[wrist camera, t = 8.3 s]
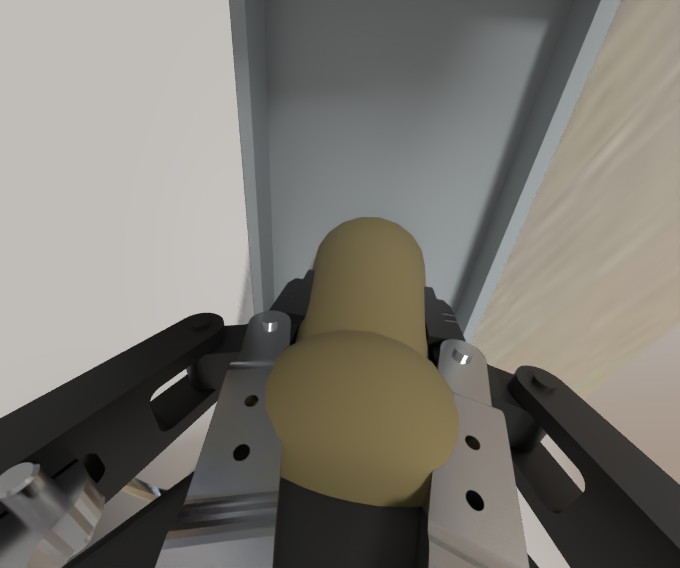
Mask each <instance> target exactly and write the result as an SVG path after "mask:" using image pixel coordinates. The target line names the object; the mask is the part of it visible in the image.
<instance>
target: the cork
mask: <svg viewBox="0 0 680 568" xmlns="http://www.w3.org/2000/svg"><path fill="white" fill-rule="evenodd" d="M312 270H315V273H314V279H313V284H312V290H311V296H310V301H309V306H308V309H307V312H306V315H305V318H304V320H303V321H302V322H301V324H300V327H299V330H298V334H297V338H296V341H295V344H293V345H291V346H289V347H287V348H285V350H284V351H283V352H282V353H281V354H280V355H279V356H278V357H277V358H276V359H275V360H274V367H273V369H272V371H271V373H270V375H269V377H268V379H267V381H266V394H265V409H266V411H267V413H268V416H269V418H270V420H271V422H272V425H273V427H274V429H275V432H276V434H277V436H278V438H279V439H281V440H282V474H281V477H282V478H284V479H287V480H289V481H291V482H293V483H295V484H297V485H300V486H302V487H304V488H307V489H309V490H312V491H315V492H318V493H321V494H324V495H327V496H330V497H334V498H339V499H343V500H347V501H351V502H356V503H363V504H369V505H375V506H389V507H422V506H423V501H424V498H425V496H426V493H427V489H428V486H429V482H430V479H431V475H432V471H433V470H436V469H438V468H439V467H441V466H442V465H443V464H444V463H445V462H446V461H447V459H448V458H449V456H450V455H451V453H452V451H453V450H454V448H455V447H456V445H457V439H458V425H459V415H458V411H457V408H456V405H455V402H454V399H453V393H452V392H453V391H452V390H451V388H450V386H449V385H448V383H447V382H446V381H445V379H444V378H443V376H442V375H441V374H440V372H439V371H438V370H437V368H436V367H435V365H434V364H433V363H432V362H431V361H430V360H429V350H428V346H427V339H426V327H425V304H424V286H426V277H425V264H424V259H423V254H422V250H421V248H420V247H419V245H418V243H417V242H416V240H415V238H414V237H413V235H411V234H410V233H409V232H408V231H406V230H405V229H404V228H403V227H401V226H400V225H399V224H397V223H394V222H391V221H389V220H386V219H383V218H380V217H359V218H356V219H353V220H349V221H346V222H343V223H341V224H340V225H339V226H337V227H336V228H334V229H333V230H331V231H330V232H329V233H328V234H327V235H326V237H325V238H324V240H323V241H322V242H321V244H320V245H319V247H318V251H317V254H316V257H315V261H314V265H313V269H312ZM257 403H258V401H256V402H255V403H254V405H253V406H255V405H256V404H257ZM253 406H252V407H253Z"/></svg>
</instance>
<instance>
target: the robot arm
mask: <svg viewBox="0 0 680 568" xmlns="http://www.w3.org/2000/svg"><path fill="white" fill-rule="evenodd" d="M314 273H315V270H311V269H309V270H308V271H307V273H306V275H305V276H304V278H303V279H300V278H295V279H293V280H291V281H290V282H288V283H287V284H286V286H285V287H284V290H282V292H281V293H280V295H279V296H278V298H277V299H276V301H275V302H274V304H273V305H272V306H271V308H270V309H269V311H264V312H260V313H258V314H256V315H254V316H253V317H252V318H251V319H250V321H249V324H245V325H231V326H224V321H223V318H222V317H221V316H219V315H217V314H214V313H200V314H195V315H192V316H189V317H187V318H185V319H183V320H181V321H180V322H178V323H176V324H174V325H172V326H170V327H168V328H167V329H165V330H163V331H161V332H159V333H157V334H155V335H154V336H152V337H150V338H148V339H146V340H144V341H143V342H141V343H139V344H137V345H135V346H133V347H131V348H130V349H128V350H126V351H124V352H122V353H120V354H119V355H117V356H115V357H113V358H111V359H109V360H107V361H106V362H104V363H102V364H100V365H98V366H97V367H94V368H93V369H91V370H89V371H87V372H85V373H83V374H82V375H80V376H78V377H76V378H74V379H72V380H70V381H69V382H67V383H65V384H63V385H61V386H59V387H58V388H56V389H54V390H52V391H51V392H48V393H46V394H45V395H43V396H41V397H39V398H37V399H35V400H33V401H32V402H30V403H28V404H26V405H24V406H23V407H21V408H19V409H17V410H15V411H13V412H11V413H9V414H8V415H6V416H4V417H2V418H0V568H539V567H538V566H537V565H536V563H535V562H534V561H533V560H532V559H531V557H530V556H529V555H528V553H527V550H526V543H525V537H524V531H523V525H522V519H521V513H520V507H519V501H518V495H517V489H516V486H517V488H518V489H519V491H520V492H521V494H522V495H523V497H524V498H525V500H526V501H527V503H528V504H529V506H530V507H531V509H532V510H533V512H534V513H535V515H536V516H537V518H538V519H539V521H540V522H541V524H542V525H543V527H544V528H545V530H546V531H547V533H548V534H549V536H550V537H551V539H552V540H553V542H554V543H555V545H556V546H557V548H558V550H559V551H560V552H561V554H562V556H563V557H564V558H565V560H566V561H567V563H568V565H569V566H570V568H680V485H679V484H678V483H677V482H676V481H675V480H673V479H672V478H671V477H670V476H669V475H668V474H667V473H665V472H664V471H663V470H662V469H661V468H660V467H659V466H658V465H656V464H655V463H654V462H653V461H652V460H651V459H650V458H649V457H647V456H646V455H645V454H644V453H643V452H642V451H641V450H639V449H638V448H637V447H636V446H635V445H634V444H633V443H631V442H630V441H629V440H628V439H627V438H626V437H625V436H623V435H622V434H621V433H620V432H619V431H618V430H617V429H615V428H614V427H613V426H612V425H611V424H610V423H609V422H608V421H606V420H605V419H604V418H603V417H602V416H601V415H600V414H599V413H597V412H596V411H595V410H594V409H593V408H592V407H591V406H589V405H588V404H587V403H586V402H585V401H584V400H583V399H582V398H580V397H579V396H578V395H577V394H576V393H575V392H574V391H572V390H571V389H570V388H569V387H568V386H567V385H566V384H564V383H563V382H562V381H561V380H560V379H558V378H557V377H556V376H554V375H552V374H551V373H549V372H547V371H545V370H543V369H540V368H537V367H533V366H521V367H519V368H518V369H517V370H516V372H515V374H511V373H508V372H506V371H503V370H500V369H498V368H495V367H493V366H490V365H488V364H487V362H486V358H485V356H484V355H483V353H482V352H481V351H480V350H479V349H477V348H476V347H475V346H473V345H471V344H469V343H467V342H466V340H465V338H464V336H463V333H462V331H461V329H460V327H459V324H458V323H457V320H456V318H455V316H454V313H453V311H452V309H451V307H450V306H449V305H448V304H447V303H446V302H445V301H444V300H440V299H437V298H436V295H435V293H434V290H433V288H432V287H427V286H424V304H425V327H426V339H427V346H428V350H429V360H430V361H431V362H432V363H433V364H434V365H435V367H436V368H437V370H438V371H439V372H440V374H441V375H442V376H443V378H444V379H445V381H446V382H447V383H448V385H449V386H450V388H451V390H452V391H453V392H452V393H453V399H454V402H455V405H456V408H457V411H458V415H459V425H458V439H457V445H456V447H455V448H454V450H453V451H452V453H451V455H450V456H449V458H448V459H447V461H446V462H445V463H444V464H443V465H442V466H441V467H439V468H438V469H436V470H433V471H432V475H431V479H430V482H429V486H428V489H427V493H426V496H425V498H424V501H423V506H422V507H389V506H375V505H369V504H363V503H356V502H351V501H347V500H343V499H339V498H334V497H330V496H327V495H324V494H321V493H318V492H315V491H312V490H309V489H307V488H304V487H302V486H300V485H297V484H295V483H293V482H291V481H289V480H287V479H284V478H282V477H281V474H282V440H281V439H279V438H278V436H277V434H276V432H275V429H274V427H273V425H272V422H271V420H270V418H269V416H268V413H267V411H266V409H265V394H266V381H267V379H268V377H269V375H270V373H271V371H272V369H273V367H274V360H275V359H276V358H277V357H278V356H279V355H280V354H281V353H282V352H283V351H284V350H285V348H287V347H289V346H291V345H293V344H295V341H296V338H297V334H298V330H299V327H300V324H301V322H302V321H303V320H304V318H305V315H306V312H307V309H308V306H309V301H310V296H311V290H312V284H313V279H314ZM184 369H186V370H187V373H188V374H187V375H186V376H185V377H183V378H182V379H180V380H179V381H178V382H176V383H175V384H174V385H172V386H171V387H170V388H168V389H167V390H165V391H164V392H163V393H161V394H160V395H159V396H157V397H156V398H155V399H153V400H152V401H151V402H150V399H151V397H152V395H153V393H154V392H155V391H156V390H157V389H158V388H159V387H161V386H162V385H163V384H165V383H166V382H168V381H169V380H170V379H172V378H173V377H175V376H176V375H177V374H179V373H180V372H182V371H183V370H184ZM256 401H258V403H257V404H256V405H255V406H253V405H254V403H255V402H256ZM216 402H217V404H216V407H215V410H214V413H213V416H212V420H211V423H210V425H209V429H208V432H207V435H206V438H205V441H204V444H203V447H202V450H201V453H200V456H199V459H198V463H197V466H196V469H195V471H194V472H192V473H191V474H190V475H188V476H187V477H185V478H184V479H183V480H181V481H180V482H179V483H177V484H176V485H174V486H173V487H172V488H170V489H169V490H168V491H166V492H165V493H163V494H162V495H161V496H159V497H158V498H156V499H155V500H154V501H152V502H151V503H150V504H148V505H147V506H146V507H144V508H143V509H141V510H140V511H139V512H137V513H136V514H135V515H133V516H132V517H130V518H129V519H128V520H126V521H125V522H123V523H122V524H121V525H119V526H118V527H117V528H115V529H114V530H112V531H111V532H110V533H108V534H107V535H105V536H104V537H103V538H101V539H100V540H99V541H97V542H96V543H95V544H93V545H92V546H90V547H89V548H88V549H86V550H85V551H84V552H82V553H81V554H79V555H78V556H77V557H75V558H74V559H72V560H71V561H70V562H68V563H67V564H66V562H67V561H68V559H69V558H70V557H71V556H73V555H75V554H77V553H78V552H80V551H81V550H82V549H83V548H84V547H85V546H86V545H87V544H88V542H89V541H90V539H91V537H92V536H93V533H94V527H95V526H96V524H97V523H98V521H99V519H100V517H101V515H102V512H103V509H104V505H105V504H106V503H107V502H108V501H109V500H110V499H111V498H112V497H113V496H114V495H115V494H117V493H118V492H119V491H120V490H121V489H122V488H123V487H124V486H125V485H126V484H127V483H129V482H130V481H131V480H132V479H133V478H134V477H135V476H136V475H137V474H138V473H139V472H140V471H142V470H143V468H145V467H146V466H147V465H148V464H149V463H150V462H151V461H152V460H154V458H156V457H157V456H158V455H159V454H160V453H161V452H162V451H163V450H164V449H166V448H167V447H168V446H169V445H170V444H171V443H172V442H173V441H174V440H175V439H176V438H177V437H179V436H180V435H181V434H182V433H183V432H184V431H185V430H186V429H187V428H188V427H189V426H191V425H192V424H193V423H194V422H195V421H196V420H197V419H198V418H199V417H200V416H201V415H203V414H204V413H205V412H206V411H207V410H208V409H209V408H210V407H211V406H212V405H213V404H214V403H216ZM252 406H253V407H252ZM546 434H548V435H549V436H550V438H551V439H552V440H553V441H554V442H555V443H556V444H557V445H558V447H559V448H560V449H561V450H562V451H563V452H564V453H565V454H566V455H567V457H568V458H569V459H570V460H571V461H572V462H573V464H574V465H575V466H576V467H577V468H578V469H579V471H580V472H581V474H582V476H583V478H584V481H585V491H584V492H582V491H581V490H580V489H579V488H578V486H577V485H576V484H575V483H574V482H573V481H572V479H571V478H570V477H569V476H568V474H567V473H566V472H565V471H564V470H563V468H562V467H561V466H560V465H559V464H558V463H557V461H556V460H555V459H554V458H553V457H552V456H551V454H550V453H549V452H548V451H547V450H546V448H545V447H544V446H543V445H542V443H541V442H540V441H541V440H542V439H543V438H544V436H545V435H546ZM65 564H66V565H65Z"/></svg>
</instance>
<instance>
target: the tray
mask: <svg viewBox="0 0 680 568" xmlns="http://www.w3.org/2000/svg"><path fill="white" fill-rule="evenodd" d="M620 3H621V0H229V6H230V18H231V31H232V43H233V55H234V68H235V79H236V91H237V104H238V117H239V128H240V129H239V130H240V142H241V154H242V166H243V179H244V191H245V202H246V216H247V229H248V241H249V253H250V266H251V278H252V291H253V303H254V315H256V314H258V313H260V312H264V311H269V309H270V308H271V306H272V305H273V304H274V302H275V301H276V299H277V298H278V296H279V295H280V293H281V292H282V290H284V287H285V286H286V284H287V283H288V282H290V281H291V280H293V279H295V278H300V279H303V278H304V276H305V275H306V273H307V271H308V270H309V269H311V270H312V269H313V265H314V261H315V257H316V254H317V251H318V247H319V245H320V244H321V242H322V241H323V240H324V238H325V237H326V235H327V234H328V233H329V232H330V231H331V230H333V229H334V228H336V227H337V226H339V225H340V224H341V223H343V222H346V221H349V220H353V219H356V218H359V217H380V218H383V219H386V220H389V221H391V222H394V223H397V224H399V225H400V226H401V227H403V228H404V229H405V230H406V231H408V232H409V233H410V234H411V235H413V237H414V238H415V240H416V242H417V243H418V245H419V247H420V248H421V250H422V254H423V259H424V264H425V277H426V286H427V287H432V288H433V290H434V293H435V295H436V298H437V299H440V300H444V301H445V302H446V303H447V304H448V305H449V306H450V307H451V309H452V311H453V313H454V316H455V318H456V320H457V323H458V324H459V327H460V329H461V331H462V333H463V336H464V338H465V340H466V342H467V343H469V344H471V342H472V340H473V337H474V335H475V333H476V331H477V328H478V326H479V324H480V322H481V319H482V317H483V315H484V312H485V310H486V308H487V306H488V303H489V301H490V299H491V296H492V294H493V292H494V290H495V287H496V285H497V283H498V281H499V278H500V276H501V274H502V271H503V269H504V267H505V265H506V262H507V260H508V258H509V255H510V253H511V251H512V249H513V246H514V244H515V242H516V240H517V237H518V235H519V233H520V230H521V228H522V226H523V224H524V221H525V219H526V217H527V214H528V212H529V210H530V208H531V205H532V203H533V201H534V198H535V196H536V194H537V192H538V189H539V187H540V185H541V183H542V180H543V178H544V176H545V173H546V171H547V169H548V167H549V164H550V162H551V160H552V157H553V155H554V153H555V151H556V148H557V146H558V144H559V142H560V139H561V137H562V135H563V132H564V130H565V128H566V126H567V123H568V121H569V119H570V116H571V114H572V112H573V110H574V107H575V105H576V103H577V100H578V98H579V96H580V94H581V91H582V89H583V87H584V85H585V82H586V80H587V78H588V75H589V73H590V71H591V69H592V66H593V64H594V62H595V59H596V57H597V55H598V53H599V50H600V48H601V46H602V44H603V41H604V39H605V37H606V34H607V32H608V30H609V28H610V25H611V23H612V21H613V18H614V16H615V14H616V12H617V9H618V7H619V5H620Z"/></svg>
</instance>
